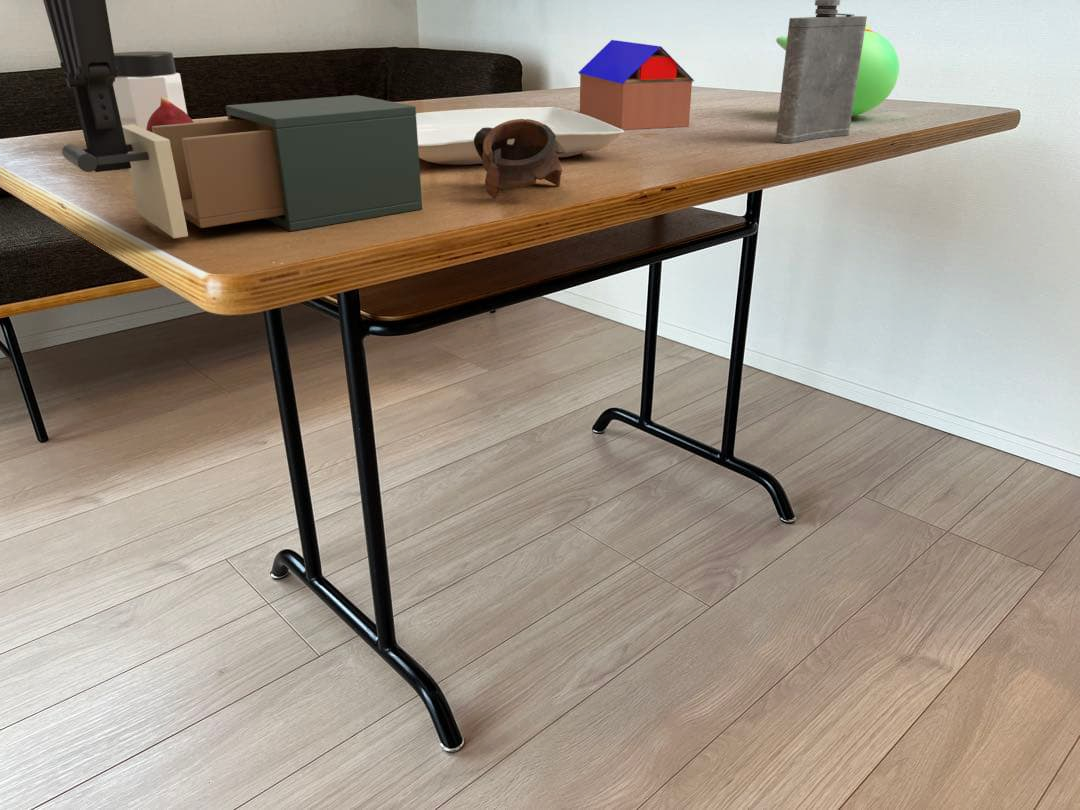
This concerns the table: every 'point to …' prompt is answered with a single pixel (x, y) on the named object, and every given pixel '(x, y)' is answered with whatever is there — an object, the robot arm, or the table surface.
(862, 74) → the toy bird
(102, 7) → the robot arm
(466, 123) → the square plate
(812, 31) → the flask
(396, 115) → the cabinet
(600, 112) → the house
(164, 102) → the onion
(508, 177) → the pottery mug
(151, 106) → the jar
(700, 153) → the table surface
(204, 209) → the drawer
